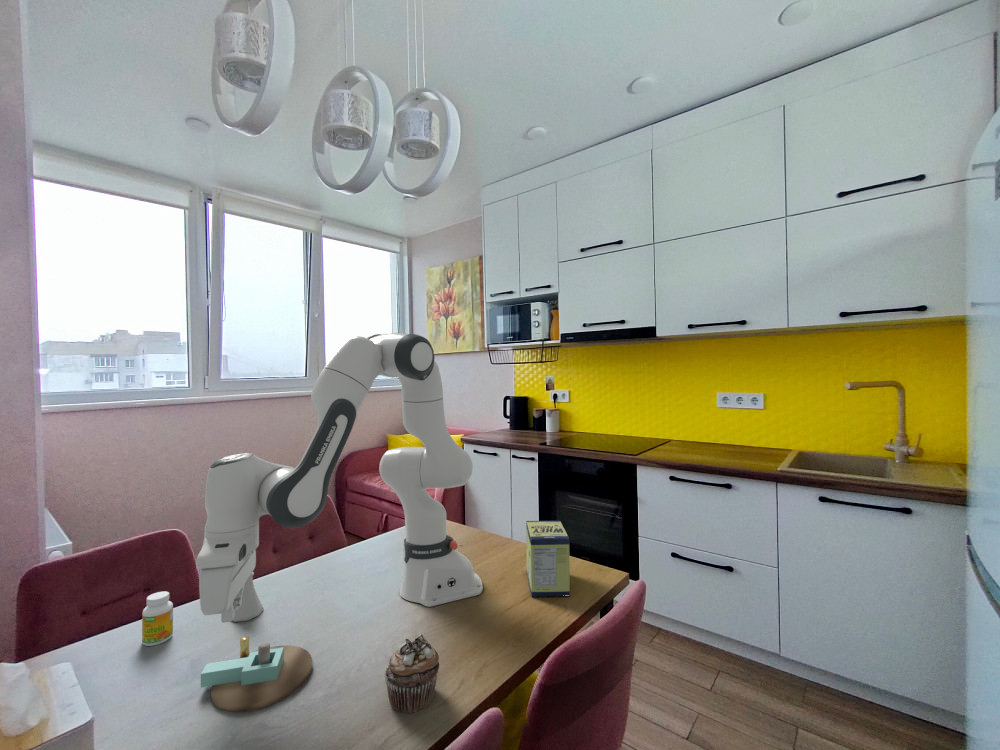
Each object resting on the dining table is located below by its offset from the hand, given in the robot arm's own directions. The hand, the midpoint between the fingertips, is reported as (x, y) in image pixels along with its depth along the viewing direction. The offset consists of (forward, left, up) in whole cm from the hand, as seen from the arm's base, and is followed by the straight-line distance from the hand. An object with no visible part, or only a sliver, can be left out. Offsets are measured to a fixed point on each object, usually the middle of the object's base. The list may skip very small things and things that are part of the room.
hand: (231, 614), depth 82 cm
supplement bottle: (+20, -21, -13) cm, 32 cm away
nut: (-2, 0, -12) cm, 12 cm away
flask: (+4, -27, -13) cm, 30 cm away
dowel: (-1, -6, -12) cm, 13 cm away
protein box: (-73, -21, -13) cm, 77 cm away
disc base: (-6, 0, -13) cm, 14 cm away
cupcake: (-33, +13, -13) cm, 37 cm away
